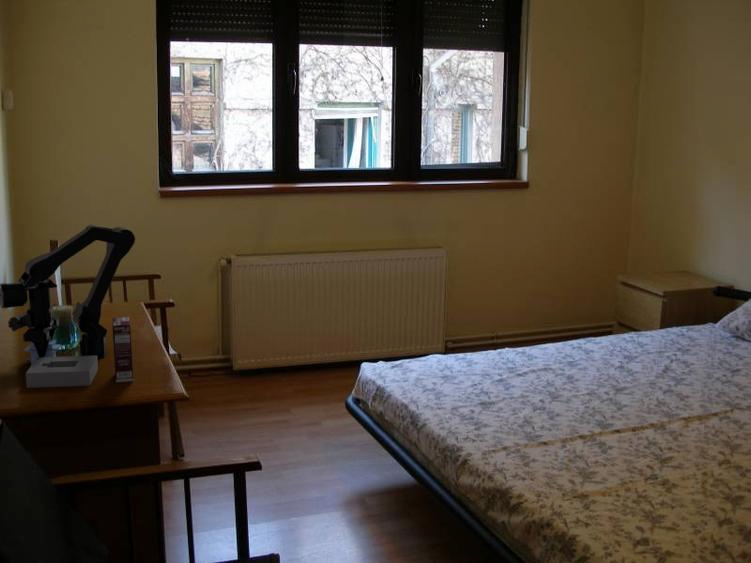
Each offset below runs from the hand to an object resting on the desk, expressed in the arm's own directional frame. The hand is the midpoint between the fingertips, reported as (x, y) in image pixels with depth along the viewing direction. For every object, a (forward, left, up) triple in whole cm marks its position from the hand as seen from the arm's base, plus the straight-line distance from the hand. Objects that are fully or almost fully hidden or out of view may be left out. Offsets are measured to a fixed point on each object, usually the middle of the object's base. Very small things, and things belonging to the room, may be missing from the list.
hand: (43, 357), depth 255 cm
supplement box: (-24, +16, -2) cm, 29 cm away
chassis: (-8, +15, -2) cm, 17 cm away
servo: (0, 0, -2) cm, 2 cm away
